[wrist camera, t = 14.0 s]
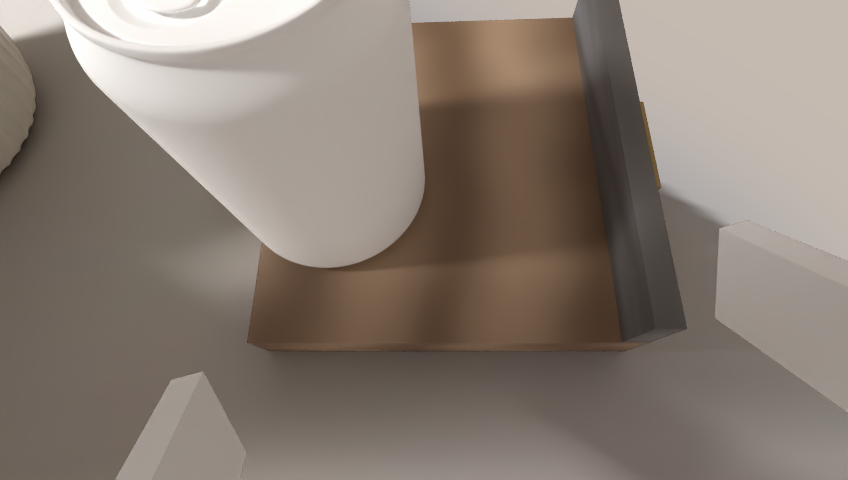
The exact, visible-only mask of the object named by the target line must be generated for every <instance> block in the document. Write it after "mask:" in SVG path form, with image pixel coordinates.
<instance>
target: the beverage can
mask: <svg viewBox="0 0 848 480" xmlns="http://www.w3.org/2000/svg"><path fill="white" fill-rule="evenodd" d="M50 2H51V3H52V5H53V6H54V8H55V9H56V11H57V12H58V13H59V14H60V16H61V17H62V18H63V19H64V24H65V29H66V33H67V37H68V39H69V42H70V45H71V48H72V50H73V52H74V54H75V56H76V58H77V60H78V62H79V63H80V65H81V66H82V68H83V70H84V71H85V72H86V74H87V75H88V76H89V78H90V79H91V80H92V81H93V82H94V84H95V85H96V86H97V87H98V88H99V89H101V90H102V91H103V92H104V93H105V94H106V95H107V96H108V97H109V98H110V99H111V100H112V101H113V102H114V103H115V104H116V105H117V106H118V107H119V108H120V109H122V110H123V111H124V112H125V113H126V114H127V115H128V116H129V117H130V118H131V119H132V120H133V121H134V122H135V123H136V124H137V125H139V126H140V127H141V128H142V129H143V130H144V131H145V132H146V133H147V134H148V135H149V136H150V137H151V138H152V139H153V140H154V141H156V142H157V143H158V144H159V145H160V146H161V147H162V148H163V149H164V150H165V151H166V152H167V153H168V154H169V155H170V156H171V157H173V158H174V159H175V160H176V161H177V162H178V163H179V164H180V165H181V166H182V167H183V168H184V169H185V170H186V171H187V172H188V173H190V174H191V175H192V176H193V177H194V178H195V179H196V180H197V181H198V182H199V183H200V184H201V185H202V186H203V187H204V188H205V189H207V190H208V191H209V192H210V193H211V194H212V195H213V196H214V197H215V198H216V199H217V200H218V201H219V202H220V203H221V204H222V205H224V206H225V207H226V208H227V209H228V210H229V211H230V212H231V213H232V214H233V215H234V216H235V217H236V218H237V219H238V220H239V221H241V222H242V223H243V224H244V225H245V226H246V227H247V228H248V229H249V230H250V231H251V232H252V233H253V234H254V235H255V236H256V237H258V238H259V239H260V240H261V241H262V242H263V243H264V244H265V245H266V246H267V247H268V248H270V249H271V250H272V251H273V252H275V253H276V254H278V255H279V256H281V257H283V258H285V259H287V260H289V261H292V262H294V263H297V264H301V265H305V266H310V267H318V268H333V267H342V266H347V265H351V264H355V263H358V262H361V261H364V260H366V259H369V258H371V257H373V256H375V255H377V254H378V253H380V252H382V251H383V250H385V249H386V248H388V247H389V246H390V245H391V244H393V243H394V242H395V241H396V240H397V239H398V238H399V237H400V236H401V235H402V234H403V233H404V232H405V231H406V229H407V228H408V227H409V225H410V224H411V222H412V221H413V219H414V218H415V216H416V214H417V212H418V209H419V207H420V204H421V201H422V198H423V193H424V187H425V171H424V159H423V148H422V137H421V126H420V114H419V103H418V92H417V80H416V69H415V58H414V46H413V35H412V24H411V14H410V1H409V0H50Z"/></svg>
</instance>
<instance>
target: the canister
mask: <svg viewBox="0 0 848 480" xmlns="http://www.w3.org/2000/svg"><path fill="white" fill-rule="evenodd" d="M35 96H36V90H35V86H34V84H33V78H32V74H31V71H30V69H29V67H28V65H27V63H26V62H25V60H24V58H23V55H22V54H21V52H20V50H19V49H18V47H17V46H16V44H15V43H14V42H13V41H12V39H11V38H10V37H9V36H8V34H7V33H6V32H5V31H4V30H3V28H2V27H1V26H0V173H1V171H2V170H3V169H4V168H6V167H7V166H9V165H10V164H11V160H12V159H13V157H14V156H15V155H16V154H17V153H18V152H20V150H21V145H22V142H23V141H24V140H25V139H26V138H28V130H29V127H30V126H31V125H32V124H33V113H34V112H35V109H36V102H35Z"/></svg>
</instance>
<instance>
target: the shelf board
mask: <svg viewBox="0 0 848 480" xmlns="http://www.w3.org/2000/svg"><path fill="white" fill-rule="evenodd" d="M411 24H412V35H413V46H414V58H415V69H416V80H417V92H418V103H419V114H420V126H421V137H422V148H423V159H424V171H425V187H424V193H423V198H422V201H421V204H420V207H419V209H418V212H417V214H416V216H415V218H414V219H413V221H412V222H411V224H410V225H409V227H408V228H407V229H406V231H405V232H404V233H403V234H402V235H401V236H400V237H399V238H398V239H397V240H396V241H395V242H394V243H393V244H391V245H390V246H389V247H388V248H386V249H385V250H383V251H382V252H380V253H378V254H377V255H375V256H373V257H371V258H369V259H366V260H364V261H361V262H358V263H355V264H351V265H347V266H342V267H333V268H318V267H310V266H305V265H301V264H297V263H294V262H292V261H289V260H287V259H285V258H283V257H281V256H279V255H278V254H276V253H275V252H273V251H272V250H271V249H270V248H268V247H267V246H266V245H265V244H264V243H263V242H262V246H261V253H260V260H259V266H258V273H257V280H256V287H255V293H254V300H253V307H252V313H251V320H250V327H249V334H248V340H247V343H249V344H252V345H255V346H258V347H260V348H263V349H266V350H269V351H626V350H629V349H632V348H635V347H637V346H640V345H643V344H646V343H649V342H651V341H654V340H657V339H660V338H662V337H665V336H668V335H671V334H674V333H676V332H679V331H682V330H685V329H687V327H686V322H685V317H684V312H683V307H682V303H681V298H680V293H679V288H678V283H677V279H676V274H675V269H674V264H673V259H672V255H671V250H670V245H669V240H668V235H667V230H666V226H665V221H664V216H663V211H662V206H661V202H660V197H659V192H658V190H659V189H660V188H661V184H660V179H659V175H658V170H657V165H656V161H655V156H654V151H653V147H652V141H651V137H650V132H649V128H648V123H647V118H646V113H645V109H644V104H643V102H640V101H639V96H638V91H637V86H636V82H635V77H634V72H633V67H632V62H631V57H630V52H629V48H628V43H627V39H626V33H625V28H624V24H623V20H622V14H621V9H620V4H619V0H578V2H577V5H576V8H575V12H574V15H573V18H551V19H521V20H520V19H519V20H489V21H458V22H428V23H411Z"/></svg>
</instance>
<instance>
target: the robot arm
mask: <svg viewBox="0 0 848 480" xmlns="http://www.w3.org/2000/svg"><path fill="white" fill-rule="evenodd" d="M715 319H717V320H718V321H719V322H721V323H722V324H724V325H725V326H727V327H728V328H729V329H731V330H732V331H734V332H735V333H736V334H738V335H739V336H741V337H742V338H743V339H745V340H746V341H748V342H749V343H750V344H752V345H753V346H755V347H756V348H757V349H759V350H760V351H762V352H763V353H764V354H766V355H767V356H769V357H770V358H771V359H773V360H774V361H776V362H777V363H779V364H780V365H781V366H783V367H784V368H786V369H787V370H788V371H790V372H791V373H793V374H794V375H795V376H797V377H798V378H800V379H801V380H802V381H804V382H805V383H807V384H808V385H809V386H811V387H812V388H814V389H815V390H816V391H818V392H819V393H821V394H822V395H823V396H825V397H826V398H828V399H829V400H831V401H832V402H833V403H835V404H836V405H838V406H839V407H840V408H842V409H843V410H845V411H846V412H847V413H848V261H846V260H844V259H841V258H839V257H836V256H834V255H831V254H829V253H826V252H824V251H822V250H819V249H817V248H814V247H812V246H809V245H807V244H804V243H802V242H799V241H797V240H794V239H792V238H790V237H787V236H785V235H782V234H780V233H777V232H775V231H772V230H770V229H767V228H765V227H762V226H760V225H757V224H755V223H753V222H750V221H744V222H740V223H736V224H733V225H729V226H725V227H722V228H719V244H718V264H717V284H716V304H715ZM246 455H247V452H246V450H245V448H244V446H243V445H242V443H241V441H240V439H239V437H238V435H237V433H236V431H235V430H234V428H233V426H232V424H231V422H230V420H229V418H228V416H227V415H226V413H225V411H224V409H223V407H222V405H221V403H220V401H219V400H218V398H217V396H216V394H215V392H214V390H213V388H212V386H211V385H210V383H209V381H208V379H207V377H206V375H205V373H204V371H201V372H198V373H194V374H191V375H187V376H183V377H180V378H176V379H173V380H171V381H170V383H169V384H168V386H167V388H166V390H165V392H164V393H163V395H162V397H161V399H160V401H159V402H158V404H157V406H156V408H155V409H154V411H153V413H152V415H151V417H150V418H149V420H148V422H147V424H146V425H145V427H144V429H143V431H142V433H141V434H140V436H139V438H138V440H137V441H136V443H135V445H134V447H133V449H132V450H131V452H130V454H129V456H128V457H127V459H126V461H125V463H124V465H123V466H122V468H121V470H120V472H119V473H118V475H117V477H116V479H115V480H240V477H241V474H242V470H243V466H244V462H245V459H246Z"/></svg>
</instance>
